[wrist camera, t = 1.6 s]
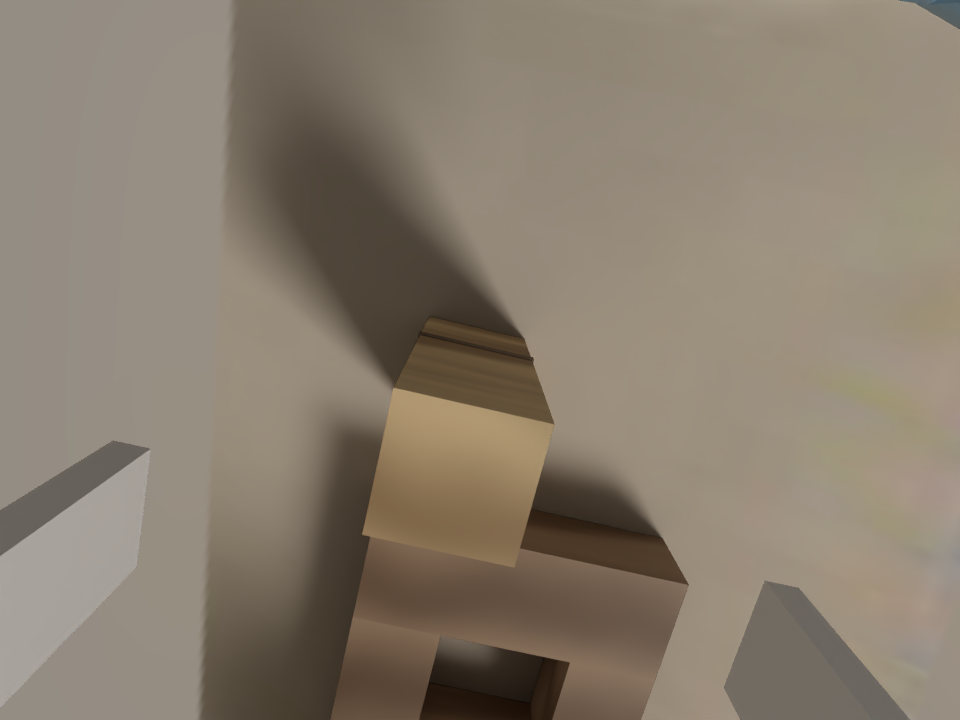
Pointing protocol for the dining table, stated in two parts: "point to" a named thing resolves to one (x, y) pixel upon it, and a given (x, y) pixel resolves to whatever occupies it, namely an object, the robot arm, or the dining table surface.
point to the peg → (461, 445)
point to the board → (515, 624)
